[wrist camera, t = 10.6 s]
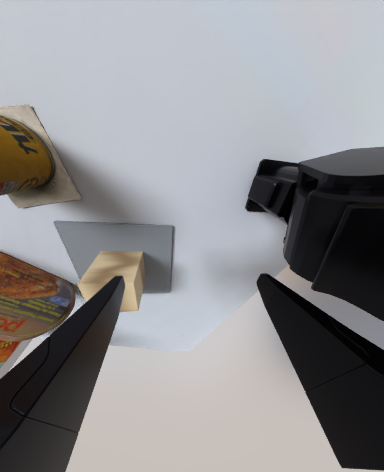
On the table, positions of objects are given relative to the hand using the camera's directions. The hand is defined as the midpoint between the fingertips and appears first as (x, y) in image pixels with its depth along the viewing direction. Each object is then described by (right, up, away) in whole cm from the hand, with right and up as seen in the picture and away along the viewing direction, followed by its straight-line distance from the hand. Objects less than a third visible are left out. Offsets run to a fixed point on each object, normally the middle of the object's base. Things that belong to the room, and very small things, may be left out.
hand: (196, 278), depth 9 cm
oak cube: (-11, -2, +14) cm, 18 cm away
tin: (-25, -3, +13) cm, 29 cm away
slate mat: (-11, -2, +14) cm, 18 cm away
